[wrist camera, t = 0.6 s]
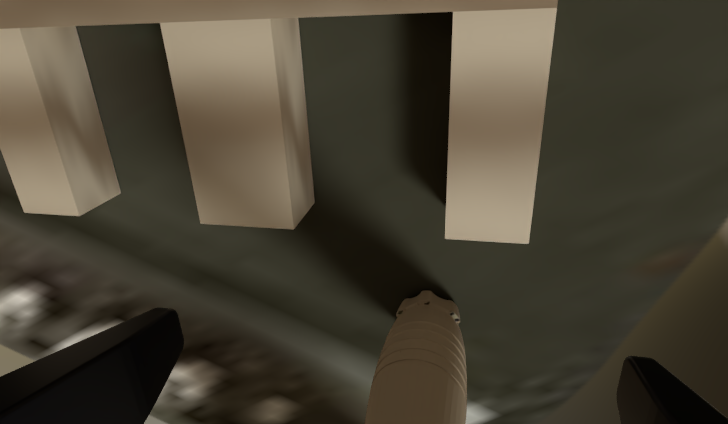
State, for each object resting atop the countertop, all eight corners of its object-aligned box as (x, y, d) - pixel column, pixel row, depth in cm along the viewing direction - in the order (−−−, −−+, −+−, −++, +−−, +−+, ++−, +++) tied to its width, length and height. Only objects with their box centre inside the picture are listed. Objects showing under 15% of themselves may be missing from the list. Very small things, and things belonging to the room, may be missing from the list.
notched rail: (521, 212, 21) (528, 244, 18) (70, 190, 26) (24, 212, 23) (549, -40, 17) (563, -46, 14) (7, -8, 22) (-58, -9, 19)
